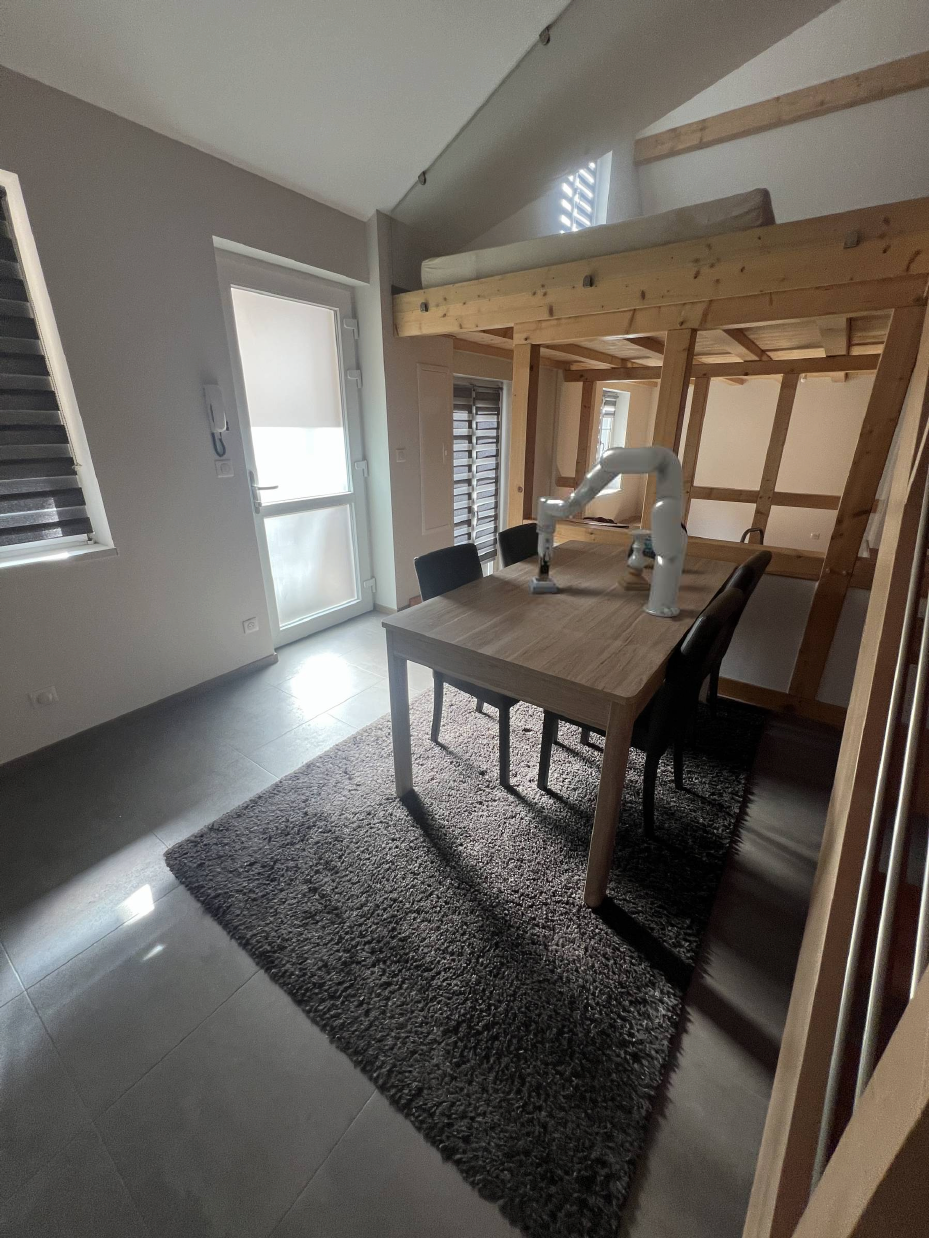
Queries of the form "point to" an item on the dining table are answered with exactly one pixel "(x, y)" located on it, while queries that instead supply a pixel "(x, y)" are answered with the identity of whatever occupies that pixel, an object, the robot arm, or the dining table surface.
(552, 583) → the candle tray
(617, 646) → the dining table surface
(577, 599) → the dining table surface
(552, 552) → the robot arm
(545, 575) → the brown tall boxy piece
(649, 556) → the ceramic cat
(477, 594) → the dining table surface
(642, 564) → the candle holder
